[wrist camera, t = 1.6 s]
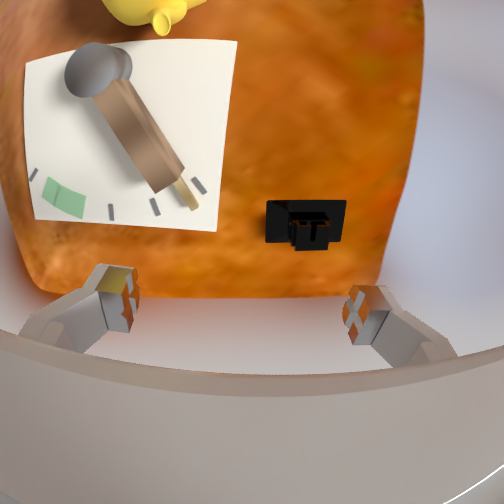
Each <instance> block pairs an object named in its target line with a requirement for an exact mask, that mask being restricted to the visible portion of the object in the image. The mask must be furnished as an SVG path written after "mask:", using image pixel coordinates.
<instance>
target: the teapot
mask: <svg viewBox="0 0 504 504" xmlns="http://www.w3.org/2000/svg"><path fill="white" fill-rule="evenodd" d="M102 1H103V3H104V5H105V6H106V8H107V9H108V10H109V11H110V12H111V14H112V15H113V16H114V17H115V18H116V19H117V20H119V21H120V22H122V23H124V24H126V25H130V26H138V25H144V24H147V23H151V24H152V26H153V28H154V30H155V32H156V33H157V34H158V35H160V36H165V35H167V34H168V33H169V31H170V28H171V25H173V24H175V23H177V22H179V21H180V20H181V19H182V18H183V17H184V16H185V14H186V12H187V10H188V9H191V8H193V7H196V6H198V5H200V4H202V3H204V2H206V1H208V0H102Z"/></svg>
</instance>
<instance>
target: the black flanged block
mask: <svg viewBox="0 0 504 504" xmlns="http://www.w3.org/2000/svg"><path fill="white" fill-rule="evenodd" d="M346 202H347V201H346V200H268V201H267V205H266V239H265V242H266V243H284V242H290V245H291V246H294V249H295V251H314V250H328V244H329V242H340V241H341V235H342V229H343V222H344V216H345V209H346Z"/></svg>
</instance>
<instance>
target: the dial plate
mask: <svg viewBox="0 0 504 504" xmlns="http://www.w3.org/2000/svg"><path fill="white" fill-rule="evenodd" d="M107 45H110V46H114V47H118V48H121V49H123V50H125V51H126V52H127V53H128V54H129V55H130V57H131V60H132V65H133V68H132V73H131V76H130V79H129V80H130V82H131V84H132V85H133V87H134V88H135V90H136V92H137V93H138V95H139V96H140V98H141V100H142V101H143V103H144V104H145V106H146V107H147V109H148V111H149V112H150V114H151V115H152V117H153V119H154V120H155V122H156V123H157V125H158V126H159V128H160V130H161V131H162V133H163V134H164V136H165V137H166V139H167V141H168V142H169V144H170V145H171V147H172V148H173V150H174V151H175V153H176V155H177V156H178V158H179V159H180V161H181V162H182V164H183V166H184V167H185V169H184V170H183V172H182V174H181V177H182V178H183V180H184V181H185V183H186V184H187V186H188V188H189V189H190V191H191V192H192V194H193V195H194V197H195V198H196V200H197V201H198V203H199V207H198V208H197V209H195V210H194V211H192V212H191V210H190V209H189V207H188V206H187V204H186V203H185V201H184V200H183V198H182V197H181V195H180V194H179V192H178V191H177V189H176V188H175V186H174V185H173V184H171V185H169V186H168V187H166V188H164V189H163V190H161V191H160V192H158V193H156V194H155V193H154V192H153V190H152V189H151V187H150V186H149V184H148V183H147V182H146V180H145V179H144V177H143V176H142V174H141V173H140V171H139V170H138V168H137V167H136V165H135V164H134V162H133V161H132V159H131V158H130V156H129V155H128V153H127V152H126V150H125V149H124V147H123V146H122V144H121V143H120V141H119V140H118V138H117V137H116V135H115V133H114V132H113V130H112V129H111V127H110V126H109V124H108V123H107V121H106V119H105V118H104V116H103V115H102V113H101V111H100V110H99V108H98V107H97V105H96V103H95V102H94V100H93V99H92V97H86V98H81V97H77V96H75V95H73V94H72V93H71V92H70V91H69V90H68V89H67V87H66V84H65V80H64V73H65V68H66V65H67V62H68V60H69V58H70V57H71V55H72V54H73V53H74V52H75V51H76V50H73V51H69V52H64V53H60V54H56V55H52V56H48V57H45V58H41V59H38V60H34V61H31V62H28V63H26V70H25V86H24V134H25V150H26V161H27V170H28V178H29V186H30V192H31V198H32V204H33V210H34V215H35V219H38V220H57V221H74V222H91V223H106V224H121V225H136V226H150V227H163V228H177V229H189V230H202V231H214V232H216V229H217V218H218V206H219V194H220V184H221V173H222V163H223V153H224V144H225V135H226V126H227V117H228V109H229V100H230V92H231V85H232V77H233V70H234V63H235V55H236V49H237V41H226V40H209V39H160V40H143V41H132V42H122V43H114V44H107Z"/></svg>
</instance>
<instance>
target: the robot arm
mask: <svg viewBox="0 0 504 504" xmlns="http://www.w3.org/2000/svg"><path fill="white" fill-rule="evenodd" d="M137 279H138V274H137V270H136V268H132V267H125V266H117V265H109V264H97V265H96V267H95V268H94V270H93V271H92V273H91V274H90V276H89V278H88V279H87V281H86V282H85V284H84V285H83V287H82V289H80V288H78V289H76V290H74V291H72V292H70V293H68V294H67V295H65V296H63V297H61V298H60V299H57V300H56V301H54V302H52V303H50V304H48V305H47V306H45V307H43V308H42V309H40V310H38V311H36V312H34V313H33V314H31V315H30V317H29V318H28V320H27V321H26V323H25V325H24V326H23V328H22V329H21V331H20V332H19V334H18V335H15V334H12V333H9V332H6V331H3V330H0V504H504V345H503V346H500V347H497V348H492V349H489V350H485V351H481V352H477V353H473V354H469V355H464V356H460V357H458V356H457V354H456V352H455V351H454V349H453V347H452V346H451V344H450V342H449V341H448V339H447V338H445V337H444V336H443V335H441V334H440V333H438V332H437V331H435V330H434V329H432V328H431V327H429V326H428V325H427V324H425V323H424V322H422V321H420V320H419V319H418V318H416V317H415V316H413V315H412V314H410V313H409V312H407V311H403V310H402V308H401V306H400V305H399V303H398V302H397V300H396V298H395V297H394V295H393V294H392V292H391V291H390V289H389V287H387V286H383V285H375V286H368V285H353V286H352V287H351V289H350V291H349V295H350V298H349V299H348V300H347V301H346V302H345V304H344V307H343V312H342V317H343V322H344V324H345V325H346V326H347V327H348V328H349V332H348V335H349V337H350V339H351V342H352V344H353V345H371V346H372V347H373V348H374V349H375V350H376V351H377V352H378V353H379V354H380V355H381V356H382V357H383V358H384V359H385V360H386V361H387V362H388V363H389V364H390V365H391V366H392V367H393V368H389V369H380V370H371V371H361V372H349V373H334V374H333V373H332V374H308V375H251V374H229V373H213V372H201V371H189V370H180V369H171V368H163V367H156V366H148V365H142V364H135V363H129V362H123V361H117V360H112V359H107V358H102V357H97V356H93V355H88V354H83V353H84V352H85V351H86V350H87V349H88V348H89V347H91V346H92V345H93V344H94V343H95V342H96V341H98V340H99V339H100V338H101V337H102V336H103V335H104V334H106V333H107V332H108V330H110V331H118V332H126V333H129V332H130V329H131V326H132V324H133V321H134V318H133V314H134V313H136V312H137V310H138V307H139V300H140V290H139V287H138V285H137V284H136V281H137Z"/></svg>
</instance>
